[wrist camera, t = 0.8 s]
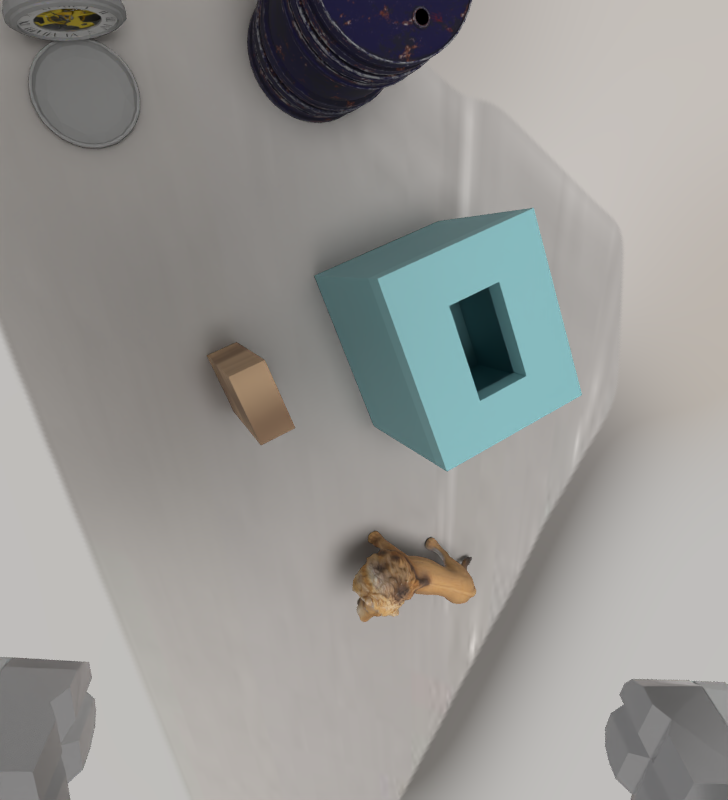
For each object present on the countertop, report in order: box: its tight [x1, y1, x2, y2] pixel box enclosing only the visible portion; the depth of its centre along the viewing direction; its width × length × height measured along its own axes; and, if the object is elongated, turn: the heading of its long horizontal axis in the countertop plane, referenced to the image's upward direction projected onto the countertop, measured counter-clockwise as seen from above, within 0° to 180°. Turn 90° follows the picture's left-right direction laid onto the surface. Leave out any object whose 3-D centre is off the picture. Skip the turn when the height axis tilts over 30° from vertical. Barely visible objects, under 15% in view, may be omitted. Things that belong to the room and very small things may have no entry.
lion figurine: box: [353, 531, 476, 622], centre depth 53 cm, size 15×5×9 cm, turn 80°
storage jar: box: [247, 0, 472, 123], centre depth 38 cm, size 10×10×15 cm
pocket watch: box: [2, 0, 140, 148], centre depth 36 cm, size 8×8×10 cm
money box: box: [314, 208, 582, 471], centre depth 47 cm, size 14×12×13 cm
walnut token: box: [207, 342, 295, 445], centre depth 43 cm, size 5×2×10 cm, turn 22°
